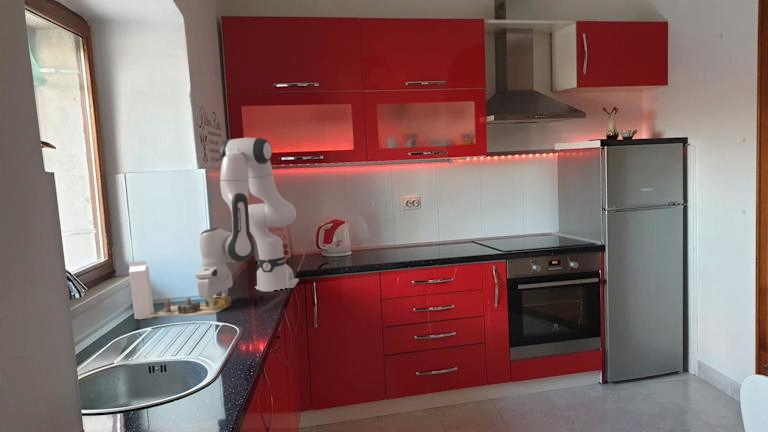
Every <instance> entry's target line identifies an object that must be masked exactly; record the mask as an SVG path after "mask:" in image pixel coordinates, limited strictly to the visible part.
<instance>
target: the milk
mask: <svg viewBox="0 0 768 432" xmlns="http://www.w3.org/2000/svg"><path fill="white" fill-rule="evenodd" d="M128 277H129V284H130V291H131V302H132V306H133V307H132V308H133V315H134V320H135V319H138V320H143V319H149V318H148V316H150V315H152V314H154V313H155V310H154V302H153V295H152V294H153V293H152V292H153V291H152V284H151V279H150V269H149V266H148V264H147V261H146V260H140V261H131V262H129V269H128Z"/></svg>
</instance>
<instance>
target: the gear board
mask: <svg viewBox="0 0 768 432" xmlns="http://www.w3.org/2000/svg"><path fill="white" fill-rule="evenodd" d="M191 300H192V299H191V298H190V297H187V298H185V302H184V303H180V304H179V303H178V305H177V304H175V305H174V304H173V305H171V301H170V298H165V299H164V306H165V308H163V309H161V310H159V311H157V312H154V314H152V315H150V316H148V318H147V319H151V318H154V317H172V316H173V317H176V316H177V317H178V316H181V317H182V316H213V315H215V314H217V313H218V312H221V311H222V310H224V309H225V308H227V307H229V306H231V305H232V303H231V304H229V305H226V306H225V307H222V308H208V307H206V303H204V304H201V303H200V301H197V302H196V301H195V300H194V301H191Z"/></svg>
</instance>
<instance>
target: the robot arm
mask: <svg viewBox="0 0 768 432" xmlns="http://www.w3.org/2000/svg"><path fill="white" fill-rule="evenodd" d="M218 154H219V158H220V160H221V167H220V174H219V175H220V177H219V178H220V182H219V183H220V185H219V187H220V192H221V193H220V194H221V197H222V200H223V201H224V202H225V203H226V204H227V205H228V207H229V210H230V213H231V225H232V226H231V227H232V228H231V229H232V232H229V231H227V230H225V229H222V228H220V227H211V228H208V229H206V230H204V231H202V232H201V233H200V236H199V248H200V249H199V250H200V254H201V256H202V257H201V258H202V260H201V267H200V269H199V270H198V271H197V272H196V273H195V277H196V279H197V291H198V295H199V298H201V299H205V300H207V301H208V303H209V307H214V306H215V302H214V301H213V297H215V296H216V295H218V294H219V293H221V296H228V293H229V289H230V288H232V287H233V285H234V284H233V277H232V272H231V270H230V269H229V266H227V264H226V258H231V259H232V260H233V261H235V262H239V263H242V262H246V261H248V260H250V259H252V257H253V255H254V253H255V250H256V249H255V247H256V248H257V252H258V260H257V263H258V264H257V265H258V267H259V268H258V269H257V271H256V284H257V285H256V286H254V289H255V288H256V289H255V290H257V291H259V290H260V291H259V292H275V291H274V290H278V291H281V290H280V289H283V290H286V289H285V288H287V289H293V288H295V287H296V285H297V284H298V283H299V281H300V280H299V279H300V278H295V277H294V272H293V271H294V270H293V269H292V268H291V267H290V266H289V265H288V264H287V260H288V256H287V255H284V246H283V240H282V239H281V237H280V236H278V235H277V234H273V233H271V232H270V231H269V228H274V227H276V228H277V227H285V226H288V225H292V224H293V223H294V222H295V220H296V216H297V211H296V208H295V207H294V205H293V204H292V203H291V202H289V201H287V200H286V199H284V198H283V197H282V195H281V194H280V193H279V191H278V189H277V186H276V182H275V178H274V173H273V172H274V171H273V167H272V162H271V158H272V155H273V148H272V145H271V142H269V140H268V139H266V138H263V137H241V138H228V139H225V140H222V142H221V144H220V145H219V149H218ZM249 192H250V193H251V194H252V196H254V197H256V198H259V199H260V200H262V201H263V202H264V203H263V202H262V203H252V204H249ZM251 235H252V236H253V238H254V240H255V243H256V246H255V243H254V240H253V238H252V236H251Z"/></svg>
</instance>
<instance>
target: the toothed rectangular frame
mask: <svg viewBox="0 0 768 432" xmlns="http://www.w3.org/2000/svg"><path fill="white" fill-rule="evenodd" d="M213 301H214V302H215V306H214V307H209V303H208V301H207V299H205V304H206V307H208V308H222V307H225V306H226V305H229V304H231V305H232V301H231V296H228V295H227V296H222V295H220V296H219V295H218V296H216V295H214V296H213ZM229 306H230V305H229Z"/></svg>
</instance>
